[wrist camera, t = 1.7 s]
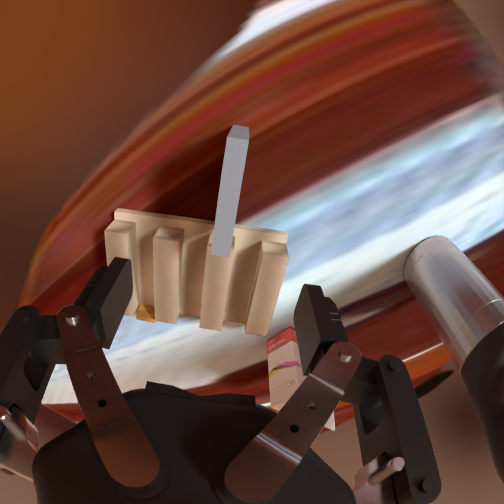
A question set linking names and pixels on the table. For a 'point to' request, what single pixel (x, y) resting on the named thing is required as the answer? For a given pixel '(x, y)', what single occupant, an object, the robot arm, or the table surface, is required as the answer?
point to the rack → (198, 270)
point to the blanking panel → (230, 189)
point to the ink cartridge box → (286, 370)
